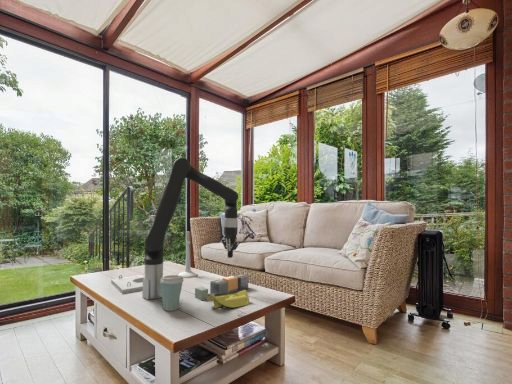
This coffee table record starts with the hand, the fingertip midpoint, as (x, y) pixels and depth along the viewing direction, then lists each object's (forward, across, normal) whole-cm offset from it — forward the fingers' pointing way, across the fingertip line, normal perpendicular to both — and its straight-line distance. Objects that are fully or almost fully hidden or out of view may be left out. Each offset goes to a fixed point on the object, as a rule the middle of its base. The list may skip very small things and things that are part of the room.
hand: (230, 257), depth 164 cm
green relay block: (+19, -3, -17) cm, 26 cm away
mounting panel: (+20, -50, -25) cm, 59 cm away
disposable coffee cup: (+20, -1, -36) cm, 41 cm away
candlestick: (+19, -47, +5) cm, 51 cm away
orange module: (+17, 0, 0) cm, 17 cm away
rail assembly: (+19, 0, -1) cm, 19 cm away
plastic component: (+19, +15, -15) cm, 28 cm away
